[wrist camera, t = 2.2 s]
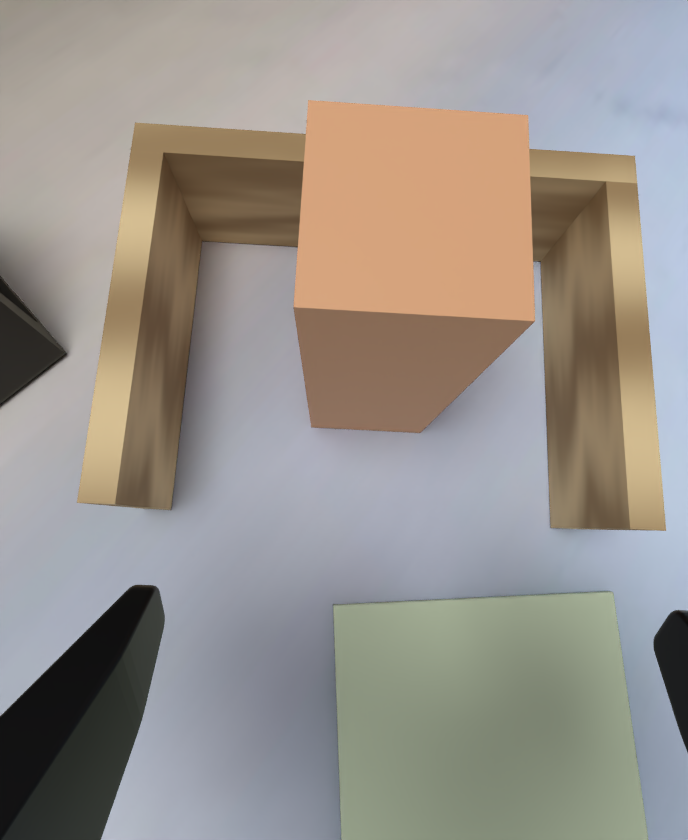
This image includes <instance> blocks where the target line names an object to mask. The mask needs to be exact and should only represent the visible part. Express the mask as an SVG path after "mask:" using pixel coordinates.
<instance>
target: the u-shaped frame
mask: <svg viewBox="0 0 688 840" xmlns="http://www.w3.org/2000/svg"><path fill="white" fill-rule="evenodd" d="M305 141H306V134H297V133H282V132H267V131H252V130H237V129H222V128H207V127H192V126H177V125H162V124H147V123H135V127H134V134H133V140H132V147H131V153H130V160H129V166H128V173H127V179H126V186H125V192H124V199H123V206H122V212H121V219H120V225H119V232H118V238H117V245H116V251H115V258H114V264H113V271H112V277H111V284H110V291H109V297H108V304H107V310H106V317H105V323H104V330H103V336H102V343H101V349H100V356H99V362H98V369H97V376H96V382H95V389H94V395H93V402H92V408H91V415H90V421H89V428H88V434H87V441H86V447H85V454H84V461H83V467H82V474H81V480H80V487H79V493H78V500H77V503H87V504H98V505H109V506H121V507H132V508H143V509H163V510H171V506H172V497H173V489H174V480H175V471H176V463H177V454H178V445H179V436H180V428H181V419H182V410H183V402H184V393H185V384H186V375H187V367H188V358H189V349H190V341H191V332H192V323H193V314H194V306H195V297H196V288H197V280H198V271H199V262H200V253H201V245H202V241H212V242H228V243H244V244H261V245H277V246H294V247H298V239H299V225H300V211H301V197H302V183H303V169H304V155H305ZM529 157H530V187H531V217H532V246H533V261H540V262H541V283H542V310H543V337H544V363H545V390H546V417H547V444H548V470H549V497H550V524H551V528H564V529H600V530H661V531H666V525H665V513H664V501H663V489H662V477H661V465H660V453H659V441H658V429H657V417H656V405H655V393H654V381H653V369H652V357H651V345H650V333H649V321H648V309H647V297H646V285H645V273H644V261H643V249H642V236H641V224H640V212H639V200H638V188H637V176H636V164H635V156H628V155H613V154H598V153H583V152H568V151H552V150H537V149H529Z"/></svg>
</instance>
